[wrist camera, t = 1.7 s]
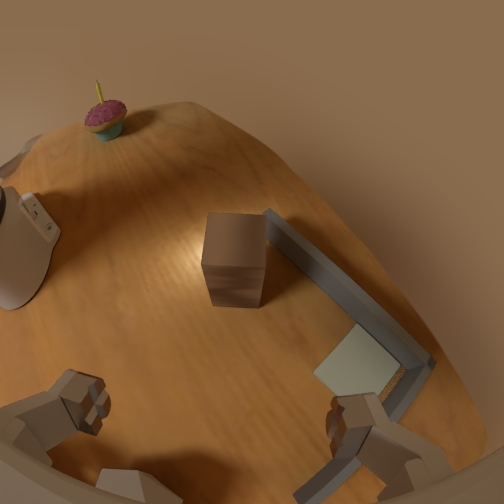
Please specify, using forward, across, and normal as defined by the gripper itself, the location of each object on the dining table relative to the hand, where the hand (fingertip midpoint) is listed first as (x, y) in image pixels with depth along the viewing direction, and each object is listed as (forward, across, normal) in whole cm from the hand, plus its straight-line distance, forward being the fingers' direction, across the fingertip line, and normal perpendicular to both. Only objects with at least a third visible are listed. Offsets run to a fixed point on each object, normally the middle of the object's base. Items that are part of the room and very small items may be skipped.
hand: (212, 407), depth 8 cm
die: (+5, +9, +23) cm, 25 cm away
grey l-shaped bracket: (+17, -5, +10) cm, 20 cm away
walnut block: (+22, 0, +4) cm, 23 cm away
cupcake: (+43, +27, -17) cm, 54 cm away
